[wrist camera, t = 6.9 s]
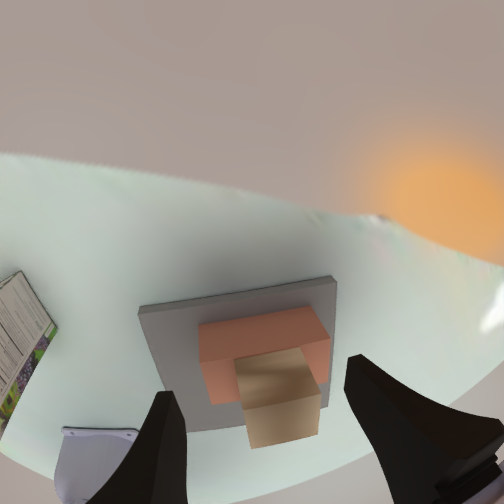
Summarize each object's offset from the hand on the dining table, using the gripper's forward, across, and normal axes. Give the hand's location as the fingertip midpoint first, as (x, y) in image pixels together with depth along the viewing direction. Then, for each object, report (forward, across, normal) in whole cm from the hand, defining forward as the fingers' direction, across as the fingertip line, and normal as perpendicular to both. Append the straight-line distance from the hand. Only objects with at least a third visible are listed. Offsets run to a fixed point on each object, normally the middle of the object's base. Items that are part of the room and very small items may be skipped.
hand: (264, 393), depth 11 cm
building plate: (+10, 0, +8) cm, 13 cm away
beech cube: (+5, -1, +5) cm, 7 cm away
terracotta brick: (+9, -1, +4) cm, 10 cm away
